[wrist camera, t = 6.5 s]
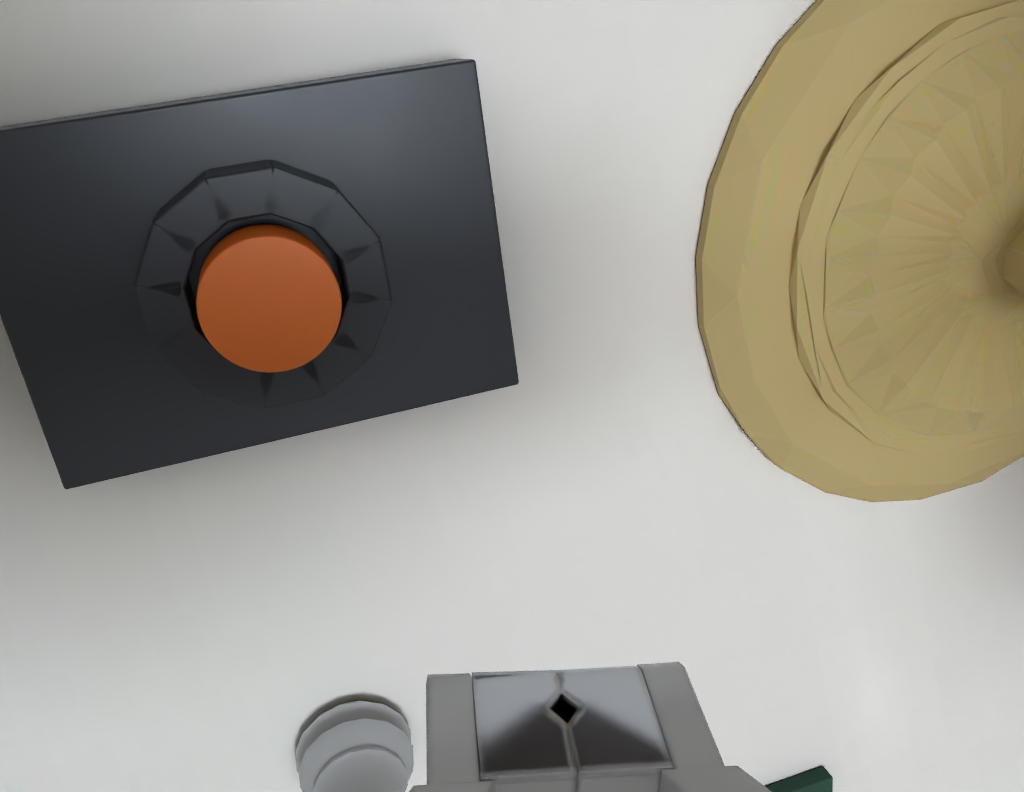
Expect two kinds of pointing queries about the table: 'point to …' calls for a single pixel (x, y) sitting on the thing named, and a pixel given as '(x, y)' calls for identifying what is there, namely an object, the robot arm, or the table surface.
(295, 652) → the table surface
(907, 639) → the table surface
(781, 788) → the mat
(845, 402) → the desk lamp
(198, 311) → the round orange button
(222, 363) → the dark grey button base
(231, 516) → the table surface
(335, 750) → the rook chess piece
